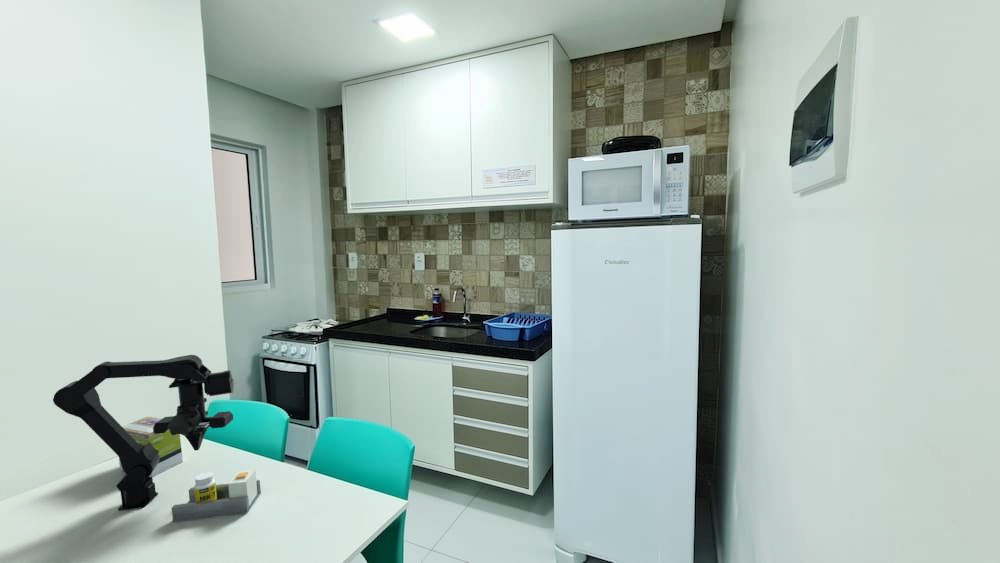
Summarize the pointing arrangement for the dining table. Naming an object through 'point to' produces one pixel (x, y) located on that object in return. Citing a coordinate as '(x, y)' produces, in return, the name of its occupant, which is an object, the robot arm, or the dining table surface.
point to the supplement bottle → (205, 487)
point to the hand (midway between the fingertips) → (197, 449)
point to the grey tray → (213, 505)
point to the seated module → (243, 485)
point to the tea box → (156, 443)
